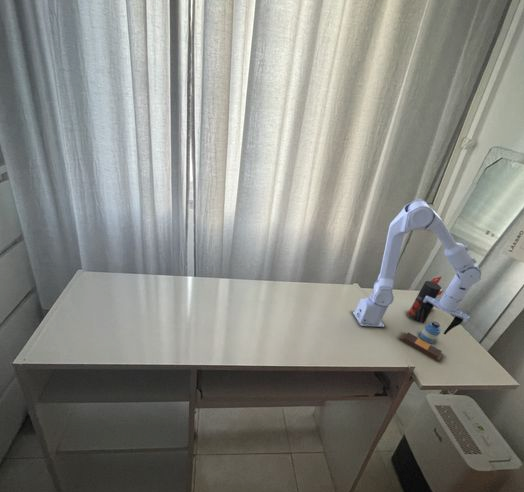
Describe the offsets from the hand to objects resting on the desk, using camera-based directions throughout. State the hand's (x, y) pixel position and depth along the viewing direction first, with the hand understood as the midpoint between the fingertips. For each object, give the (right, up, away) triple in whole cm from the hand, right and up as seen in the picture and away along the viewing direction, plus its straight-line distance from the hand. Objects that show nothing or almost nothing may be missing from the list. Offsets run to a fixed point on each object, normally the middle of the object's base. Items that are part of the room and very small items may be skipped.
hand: (434, 327), depth 113 cm
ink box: (+7, +6, +21) cm, 22 cm away
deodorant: (0, +3, +14) cm, 14 cm away
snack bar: (-6, -7, -3) cm, 9 cm away
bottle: (-1, -4, +3) cm, 5 cm away
